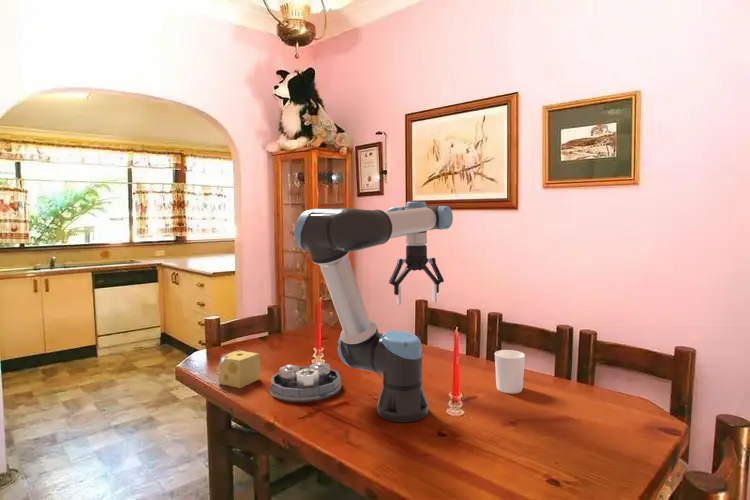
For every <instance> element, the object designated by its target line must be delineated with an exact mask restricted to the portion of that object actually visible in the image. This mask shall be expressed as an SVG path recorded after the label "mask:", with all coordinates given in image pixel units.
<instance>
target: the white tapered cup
mask: <svg viewBox="0 0 750 500" xmlns="http://www.w3.org/2000/svg"><path fill="white" fill-rule="evenodd" d="M525 359H526V355H525V353H523V352H522V351H518V350H513V349H501V350H500V349H499V350H497V351H495V352H494V364H495V366H494V369H495V382H496V383H495V384H496V390H498V391H499V392H501V393H504V394H519V393H521V392H522V391H523V385H524V374H525V373H524V371H525Z"/></svg>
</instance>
